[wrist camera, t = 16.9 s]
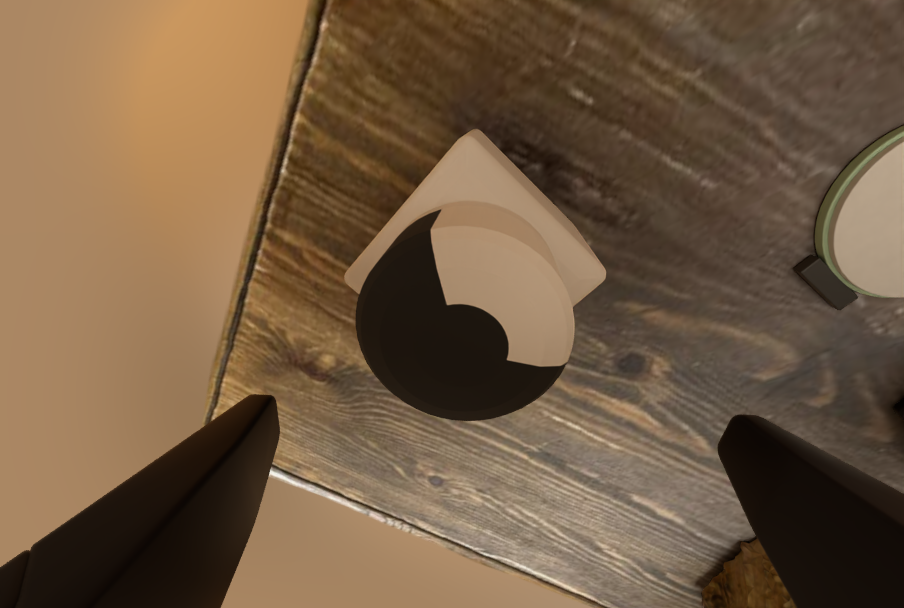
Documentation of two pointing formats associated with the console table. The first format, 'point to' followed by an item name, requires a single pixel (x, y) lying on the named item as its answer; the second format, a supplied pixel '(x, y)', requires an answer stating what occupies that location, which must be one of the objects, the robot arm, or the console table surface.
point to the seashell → (747, 582)
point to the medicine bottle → (472, 289)
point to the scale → (862, 228)
